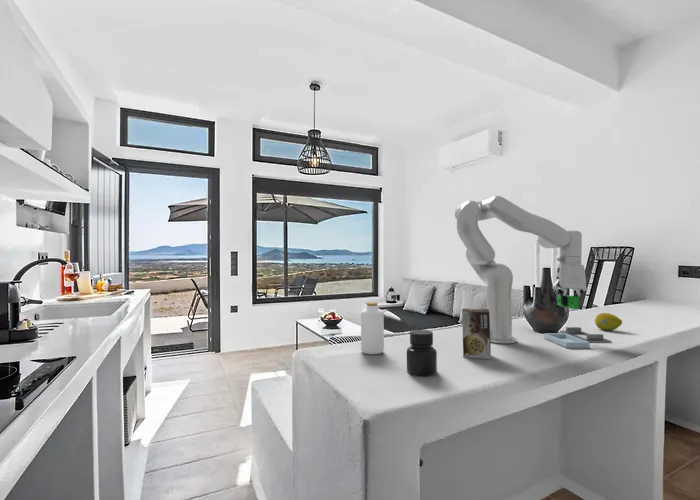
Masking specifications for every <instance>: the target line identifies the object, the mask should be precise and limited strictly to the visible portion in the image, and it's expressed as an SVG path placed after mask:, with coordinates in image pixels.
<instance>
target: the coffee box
mask: <svg viewBox="0 0 700 500" xmlns="http://www.w3.org/2000/svg"><path fill="white" fill-rule="evenodd" d="M461 319H462V320H461V322H462V357H463V358H466V359H467V358H468V359H483V360H491V359H492V355H491V354H492V349H491V342H490V312H489V309H487V308H462V310H461Z"/></svg>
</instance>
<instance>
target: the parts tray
mask: <svg viewBox="0 0 700 500" xmlns="http://www.w3.org/2000/svg"><path fill="white" fill-rule="evenodd" d="M543 335H544V336H543V337H544V338H543V339H544V340H547V341H548V342H551V343H553V344H556V345H558V346H559V347H563V348H565V349H590V347H591V346H590V343H589V342H587V341H584V340H582V339H579V338H576V337H573V336H571V335H568V334H565V333H561V332H559V333H557V332H556V333H553V332H552V333H550V332H548V333H547V332H546V333H544V334H543Z"/></svg>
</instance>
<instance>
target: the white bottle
mask: <svg viewBox="0 0 700 500" xmlns="http://www.w3.org/2000/svg"><path fill="white" fill-rule="evenodd" d="M365 307H366V308H364V309H362V310H361V312H360V349H361V350H360V351H361V353H363V354H365V355H374V356H376V355H380V354H382V353H383V352H384V351H385V338H384V337H385V333H384V332H385V324H384V322H385V321H384V320H385V319H384V318H385V317H384V316H385V314H384V311H383V310H382V309H380V308H378V307H379V305H378V302H375V301H374V302H371V301H369V302H366V305H365Z"/></svg>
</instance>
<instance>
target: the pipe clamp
mask: <svg viewBox="0 0 700 500" xmlns="http://www.w3.org/2000/svg"><path fill="white" fill-rule="evenodd" d="M566 296H567V297H568V300H567V306H563V305H561V295H559V294H557V296H556V297H557V300H556V301H557V303H556V305H557V306H559V307H563V308H567V309H573V310H578V309H580V297H572V296H573V295H566Z"/></svg>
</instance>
